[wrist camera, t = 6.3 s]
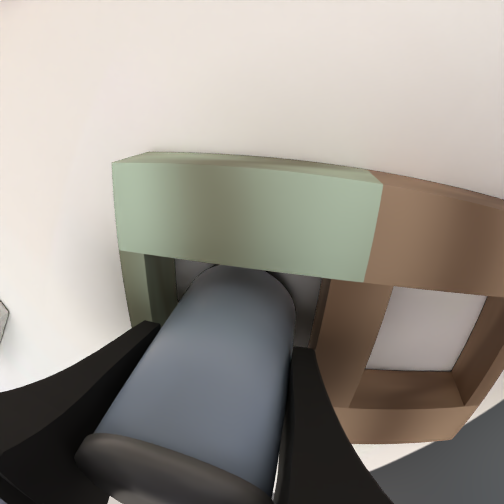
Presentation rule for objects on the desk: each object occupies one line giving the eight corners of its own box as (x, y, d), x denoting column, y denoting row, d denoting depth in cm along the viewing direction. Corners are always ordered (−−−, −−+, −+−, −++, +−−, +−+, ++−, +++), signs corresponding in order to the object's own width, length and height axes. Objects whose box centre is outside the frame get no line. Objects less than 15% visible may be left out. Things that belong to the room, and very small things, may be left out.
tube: (307, 271, 11) (289, 498, 4) (288, 364, 13) (259, 544, 6) (182, 252, 11) (44, 419, 4) (185, 346, 13) (106, 500, 6)
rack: (531, 208, 9) (565, 229, 7) (442, 406, 14) (451, 439, 12) (148, 151, 11) (111, 163, 9) (169, 378, 16) (152, 411, 14)
